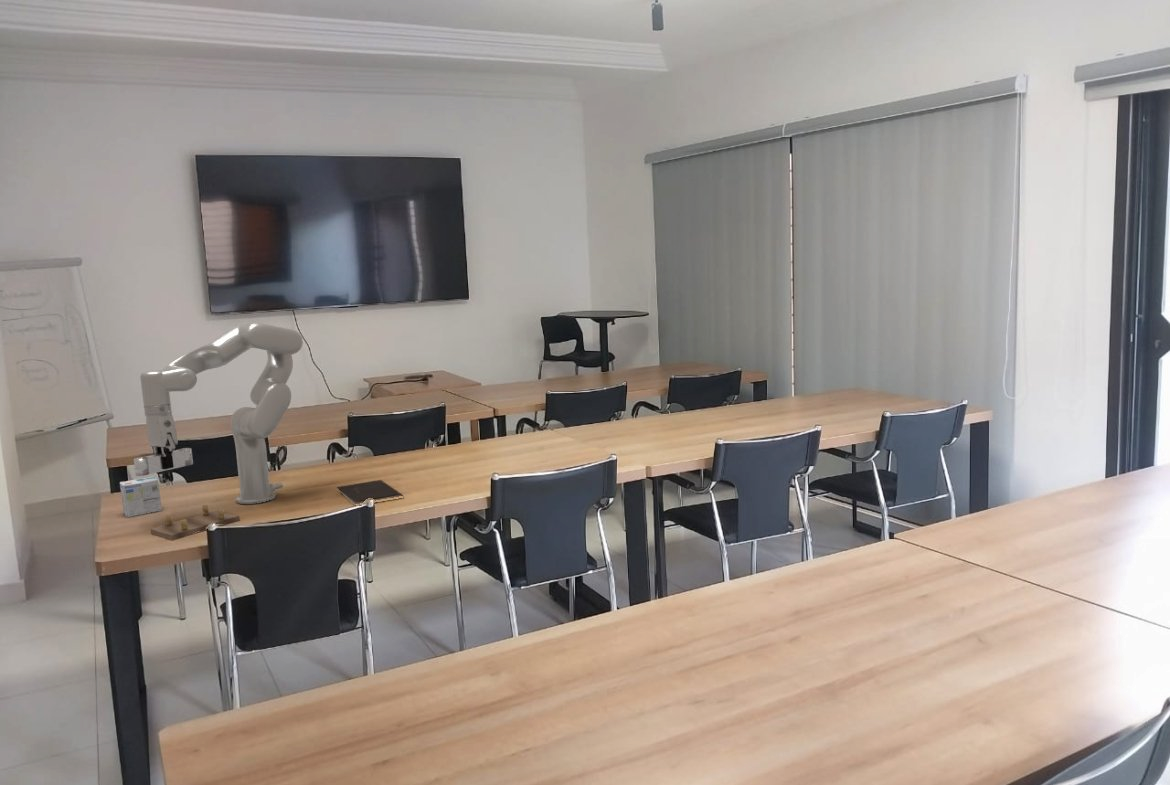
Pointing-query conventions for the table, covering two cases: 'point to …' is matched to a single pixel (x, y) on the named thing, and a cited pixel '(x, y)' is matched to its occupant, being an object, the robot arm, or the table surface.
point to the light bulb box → (140, 496)
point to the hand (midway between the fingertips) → (165, 467)
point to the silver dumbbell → (155, 462)
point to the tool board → (193, 523)
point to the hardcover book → (368, 491)
